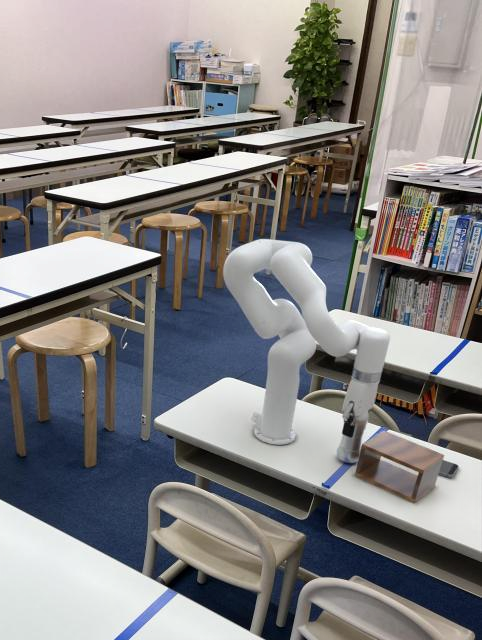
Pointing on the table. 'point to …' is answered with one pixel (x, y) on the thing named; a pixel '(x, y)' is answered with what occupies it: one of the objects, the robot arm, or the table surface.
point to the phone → (448, 469)
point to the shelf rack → (394, 476)
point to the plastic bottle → (353, 440)
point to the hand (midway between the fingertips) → (353, 431)
